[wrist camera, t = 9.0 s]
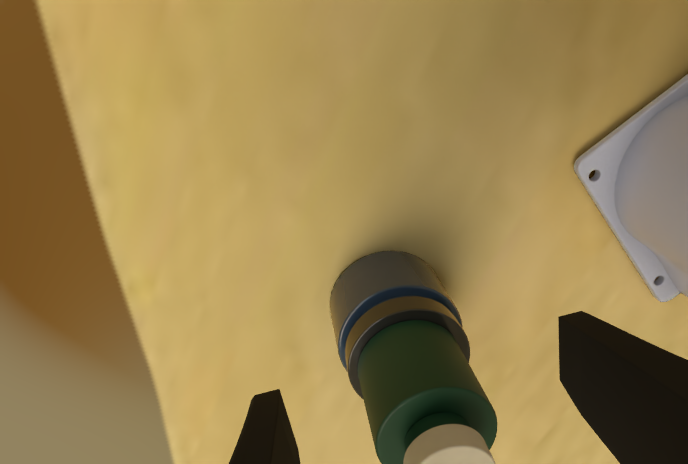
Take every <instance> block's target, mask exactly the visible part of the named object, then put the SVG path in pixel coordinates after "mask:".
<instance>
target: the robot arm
mask: <svg viewBox="0 0 688 464" xmlns="http://www.w3.org/2000/svg"><path fill="white" fill-rule="evenodd" d="M574 170H575V173H576V174H577V176H578V178H579V179H580V181H581V182H582V184H583V186H584V187H585V189H586V190H587V192H588V193H589V195H590V197H591V198H592V200H593V201H594V203H595V204H596V206H597V208H598V209H599V211H600V212H601V214H602V216H603V217H604V219H605V220H606V222H607V223H608V225H609V227H610V228H611V230H612V231H613V233H614V235H615V236H616V238H617V239H618V241H619V242H620V244H621V246H622V247H623V249H624V250H625V252H626V254H627V255H628V257H629V258H630V260H631V261H632V263H633V265H634V266H635V268H636V269H637V271H638V273H639V274H640V276H641V277H642V279H643V280H644V282H645V284H646V285H647V287H648V288H649V290H650V292H651V293H652V295H653V296H654V297H655V298H656V299H657V300H659V301H660V302H667V301H669V300H671V299H672V298H674V297H675V296H677V295H678V294H680V293H682V294H684V295H685V296H687V297H688V74H687V75H686V76H684V77H683V78H682V79H680V80H679V81H678V82H676V83H675V84H674V85H673V86H671V87H670V88H669V89H667V90H666V91H665V92H663V93H662V94H661V95H659V96H658V97H657V98H655V99H654V100H653V101H652V102H650V103H649V104H648V105H646V106H645V107H644V108H642V109H641V110H640V111H638V112H637V113H636V114H635V115H633V116H632V117H631V118H629V119H628V120H627V121H625V122H624V123H623V124H621V125H620V126H619V127H617V128H616V129H615V130H614V131H612V132H611V133H610V134H608V135H607V136H606V137H604V138H603V139H602V140H600V141H599V142H598V143H597V144H595V145H594V146H593V147H591V148H590V149H589V150H587V151H586V152H585V153H583V154H582V155H581V156H580V157H579V158H578V159H577V160H576V162H575V164H574ZM593 170H595V175H594V176H593V177H592V178H590V179H589V174H590V173H591V172H592V171H593ZM656 277H658V278H657V279H656V280H655V278H656ZM654 280H655V281H654ZM559 365H560V381H561V383H562V384H563V386H564V388H565V389H566V391H567V393H568V394H569V396H570V398H571V399H572V401H573V402H574V404H575V406H576V407H577V409H578V410H579V412H580V413H581V415H582V416H583V418H584V419H585V420H586V421H587V423H588V424H589V425H590V426H591V428H592V429H593V430H594V431H595V433H596V434H597V435H598V436H599V438H600V439H601V440H602V442H603V443H604V444H605V445H606V446H607V448H608V449H609V450H610V451H611V453H612V454H613V455H614V456H615V458H616V459H617V460H618V461H619V462H620V464H688V360H686V359H684V358H682V357H679V356H677V355H675V354H672V353H670V352H668V351H666V350H663V349H661V348H659V347H657V346H655V345H653V344H650V343H648V342H646V341H644V340H642V339H640V338H638V337H636V336H633V335H631V334H629V333H627V332H625V331H623V330H621V329H619V328H617V327H615V326H613V325H611V324H609V323H607V322H604V321H602V320H600V319H598V318H596V317H594V316H592V315H590V314H587V313H585V312H583V311H579V312H576V313H572V314H568V315H564V316H560V317H559ZM229 464H300V458H299V452H298V447H297V444H296V441H295V438H294V434H293V431H292V428H291V425H290V422H289V418H288V415H287V412H286V409H285V406H284V403H283V399H282V396H281V393H280V390H279V389H277V390H273V391H269V392H266V393H262V394H258V395H255V396H254V397H253V399H252V400H251V404H250V407H249V410H248V414H247V417H246V420H245V423H244V426H243V429H242V431H241V434H240V437H239V440H238V442H237V445H236V447H235V450H234V452H233V455H232V457H231V460H230V462H229Z"/></svg>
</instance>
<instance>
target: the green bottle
mask: <svg viewBox="0 0 688 464" xmlns="http://www.w3.org/2000/svg"><path fill="white" fill-rule="evenodd" d="M357 371H358V378H359V382H360V386H361V391H362V395H363V399H364V403H365V407H366V411H367V416H368V420H369V424H370V428H371V432H372V437H373V441H374V445H375V449H376V453H377V456H378V458H379V460H380V462H381V463H382V464H495V461H494V459H493V457H492V455H491V453H490V451H489V450H490V448H491V446H492V445H493V443H494V440H495V437H496V433H497V417H496V414H495V411H494V409H493V407H492V405H491V403H490V402H489V400H488V398H487V396H486V394H485V392H484V391H483V389H482V387H481V385H480V383H479V382H478V380H477V378H476V376H475V374H474V372H473V371H472V369H471V367H470V365H469V363H468V362H467V360H466V358H465V356H464V354H463V353H462V351H461V349H460V347H459V345H458V343H457V342H456V340H455V338H454V337H453V336H452V334H451V333H450V332H449V331H448V330H446V329H445V328H443V327H442V326H440V325H438V324H435V323H432V322H429V321H424V320H409V321H403V322H399V323H396V324H393V325H390V326H388V327H386V328H385V329H383V330H381V331H380V332H378V333H377V334H376V335H375V336H374V337H372V338H371V340H370V341H369V342H368V343H367V344H366V346H365V347H364V349H363V351H362V353H361V355H360V358H359V362H358V370H357Z"/></svg>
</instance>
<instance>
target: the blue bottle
mask: <svg viewBox="0 0 688 464" xmlns="http://www.w3.org/2000/svg"><path fill="white" fill-rule="evenodd" d="M330 312H331V318H332V323H333V328H334V333H335V338H336V343H337V348H338V353H339V356H340V360H341V362H342V364H343V366H344V368H345V369H346V371H347V372H348V376H349V379H350V382H351V384H352V387H353V388H354V390H355V391H356V393H357V394H358V395H359V396H360V397H361V398H362V399H363V395H362V391H361V386H360V382H359V378H358V371H357V370H358V362H359V358H360V355H361V353H362V351H363V349H364V347H365V346H366V344H367V343H368V342H369V341H370V340H371V338H372V337H374V336H375V335H376V334H377V333H378V332H380V331H381V330H383V329H385V328H386V327H388V326H390V325H393V324H396V323H399V322H403V321H409V320H424V321H429V322H432V323H435V324H438V325H440V326H442V327H443V328H445V329H446V330H448V331H449V332H450V333H451V334H452V336H453V337H454V338H455V340H456V342H457V343H458V345H459V347H460V349H461V351H462V353H463V354H464V356H465V358H466V360H467V362H468V363H469V358H470V346H469V341H468V338H467V336H466V334H465V332H464V330H463V328H462V321H461V318H460V314H459V312H458V310H457V308H456V307H455V305H454V303H453V302H452V300H451V299H450V297H449V295H448V294H447V292H446V290H445V289H444V287H443V285H442V284H441V282H440V280H439V279H438V277H437V276H436V274H435V272H434V271H433V270H432V268H431V267H430V266H429V265H428V264H427V263H426V262H424V261H423V260H422V259H420V258H418V257H416V256H414V255H412V254H409V253H405V252H401V251H382V252H377V253H373V254H370V255H367V256H365V257H363V258H361V259H359V260H357V261H356V262H354V263H353V264H351V265H350V266H349V267H348V268H347V269H346V270H345V271H344V272H343V273H342V274H341V275H340V277H339V278H338V280H337V281H336V283H335V285H334V287H333V290H332V293H331V298H330Z"/></svg>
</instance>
